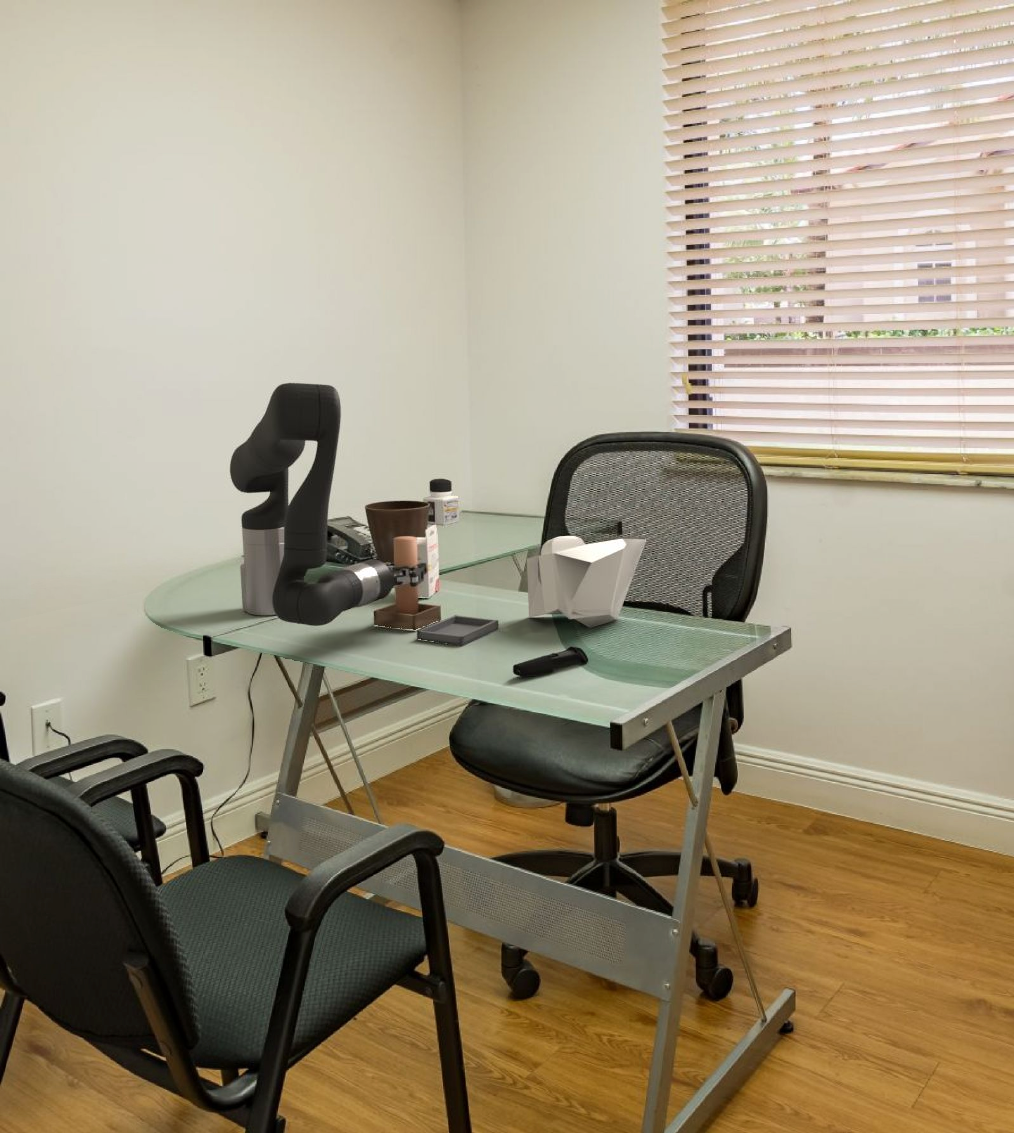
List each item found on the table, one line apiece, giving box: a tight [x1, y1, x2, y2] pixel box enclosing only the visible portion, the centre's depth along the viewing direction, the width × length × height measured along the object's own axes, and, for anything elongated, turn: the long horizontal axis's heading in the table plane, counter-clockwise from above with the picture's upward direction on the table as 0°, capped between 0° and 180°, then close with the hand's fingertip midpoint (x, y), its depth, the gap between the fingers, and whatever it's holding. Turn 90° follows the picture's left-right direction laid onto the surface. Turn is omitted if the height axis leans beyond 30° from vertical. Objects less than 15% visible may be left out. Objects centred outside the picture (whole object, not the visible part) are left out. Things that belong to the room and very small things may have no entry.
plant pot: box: [364, 500, 430, 563], centre depth 265 cm, size 15×15×16 cm
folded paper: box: [526, 535, 647, 629], centre depth 217 cm, size 17×24×17 cm
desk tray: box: [416, 614, 499, 647], centre depth 209 cm, size 9×13×2 cm
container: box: [422, 478, 460, 526], centre depth 338 cm, size 8×8×13 cm
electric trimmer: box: [512, 645, 589, 678], centre depth 186 cm, size 4×16×3 cm, turn 133°
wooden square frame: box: [373, 602, 442, 630], centre depth 218 cm, size 9×9×3 cm
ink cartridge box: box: [417, 524, 440, 597], centre depth 242 cm, size 9×5×15 cm, turn 168°
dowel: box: [394, 536, 419, 615], centre depth 216 cm, size 4×4×15 cm
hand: (413, 566), depth 218 cm, fingers closed on dowel, 4 cm apart
